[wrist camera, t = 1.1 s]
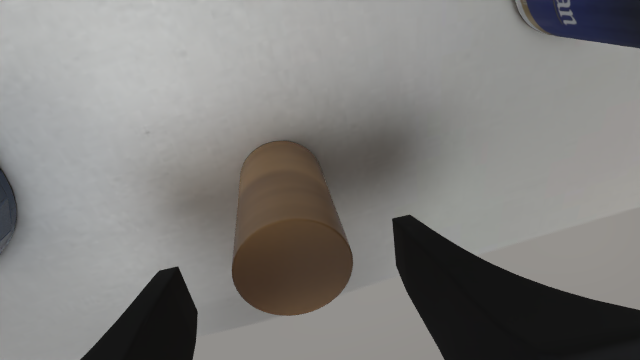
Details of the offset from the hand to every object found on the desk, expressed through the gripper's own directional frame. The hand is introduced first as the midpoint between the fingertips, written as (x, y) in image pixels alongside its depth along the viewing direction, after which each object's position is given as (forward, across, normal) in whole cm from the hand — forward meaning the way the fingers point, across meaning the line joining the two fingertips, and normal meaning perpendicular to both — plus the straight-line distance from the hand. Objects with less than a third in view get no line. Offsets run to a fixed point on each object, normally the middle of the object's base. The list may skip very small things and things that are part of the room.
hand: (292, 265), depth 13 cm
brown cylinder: (+7, 0, 0) cm, 7 cm away
